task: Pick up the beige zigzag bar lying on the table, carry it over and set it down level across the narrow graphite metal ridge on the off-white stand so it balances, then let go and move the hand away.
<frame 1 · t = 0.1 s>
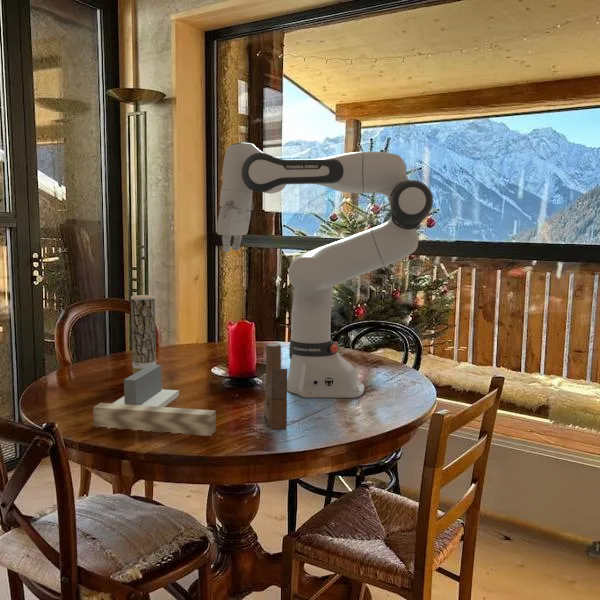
hand: (231, 251, 169), 39 cm above the table, tool pointing down, fingers open, 8 cm apart
wooden block: (275, 422, 141), on the table
grey brown tall cylinder: (144, 380, 178), on the table
ridge stand: (144, 404, 154), on the table
beige zigzag bar: (154, 430, 136), on the table
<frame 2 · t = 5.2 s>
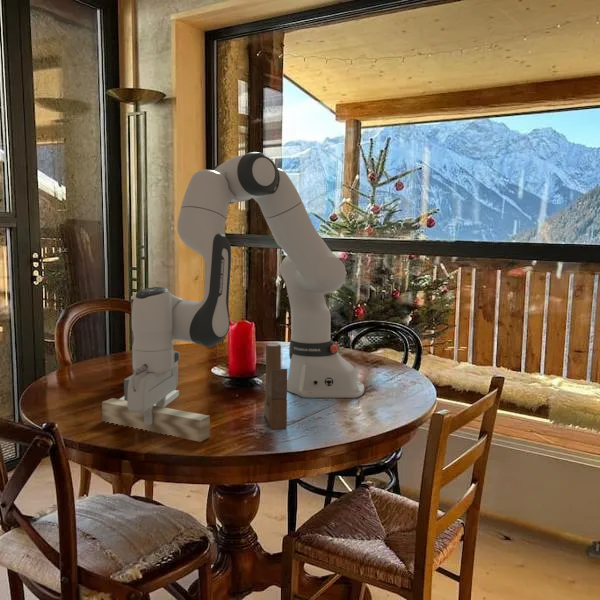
hand: (154, 419, 135), 2 cm above the table, tool pointing down, fingers closed on beige zigzag bar, 4 cm apart
beige zigzag bar: (154, 429, 136), on the table, touching gripper
everything else where it was.
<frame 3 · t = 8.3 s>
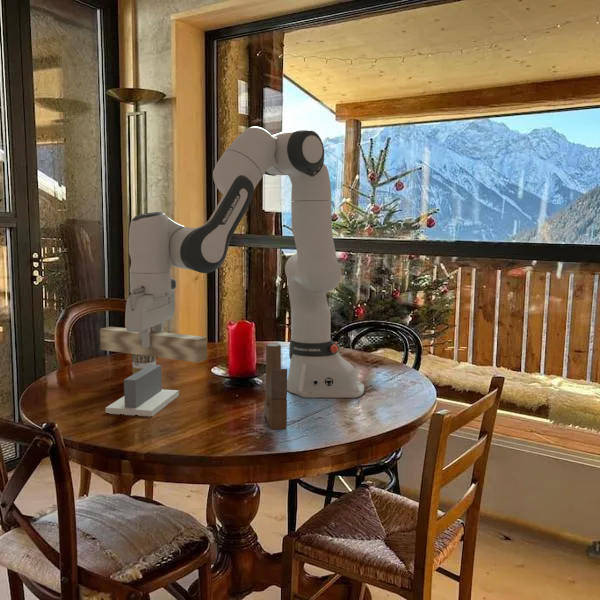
hand: (151, 344, 137), 19 cm above the table, tool pointing down, fingers closed on beige zigzag bar, 4 cm apart
beige zigzag bar: (152, 354, 137), point 17 cm above the table, touching gripper
everything else where it was.
when the fingers open (12 cm above the table, at t = 11.0 s): beige zigzag bar stays where it is, resting on ridge stand.
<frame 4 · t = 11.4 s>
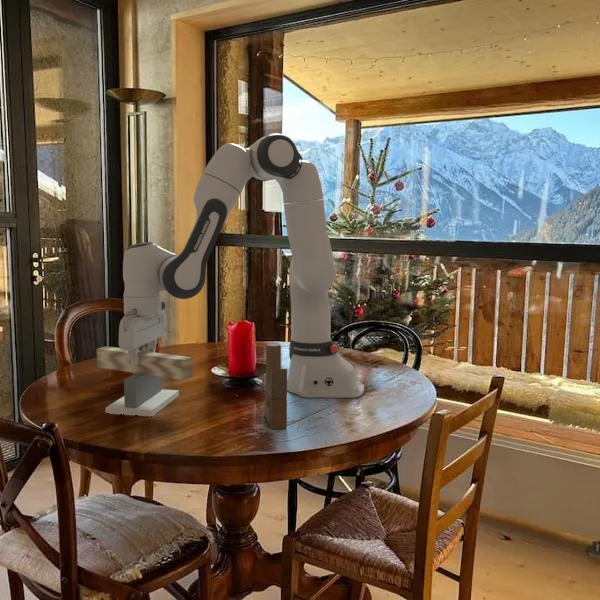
hand: (143, 360, 152), 12 cm above the table, tool pointing down, fingers open, 8 cm apart
beige zigzag bar: (143, 372, 153), point 8 cm above the table, touching ridge stand
everything else where it was.
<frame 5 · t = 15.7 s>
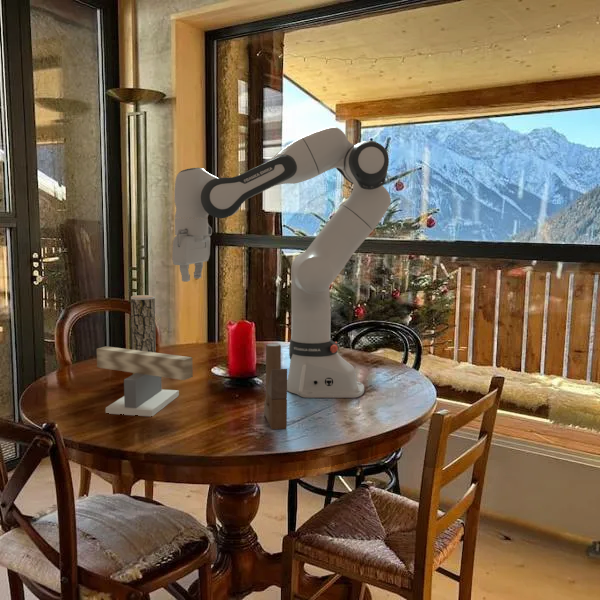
hand: (191, 279, 163), 31 cm above the table, tool pointing down, fingers open, 8 cm apart
nothing on the table moved.
at the end: beige zigzag bar inside the target area on the ridge stand (0.1 cm from its centre), point 8.5 cm above the ridge stand's base; beige zigzag bar tilted 0°; beige zigzag bar touching ridge stand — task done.
